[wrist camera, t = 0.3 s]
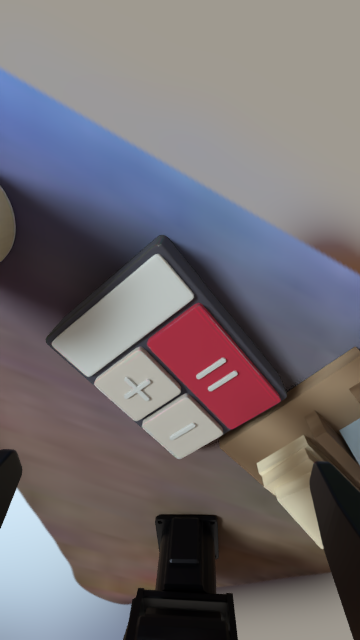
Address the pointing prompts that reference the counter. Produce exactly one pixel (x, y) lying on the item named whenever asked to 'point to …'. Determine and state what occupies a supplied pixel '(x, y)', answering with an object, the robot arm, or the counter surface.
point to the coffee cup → (6, 225)
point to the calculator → (167, 352)
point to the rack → (305, 420)
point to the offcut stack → (295, 481)
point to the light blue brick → (353, 438)
